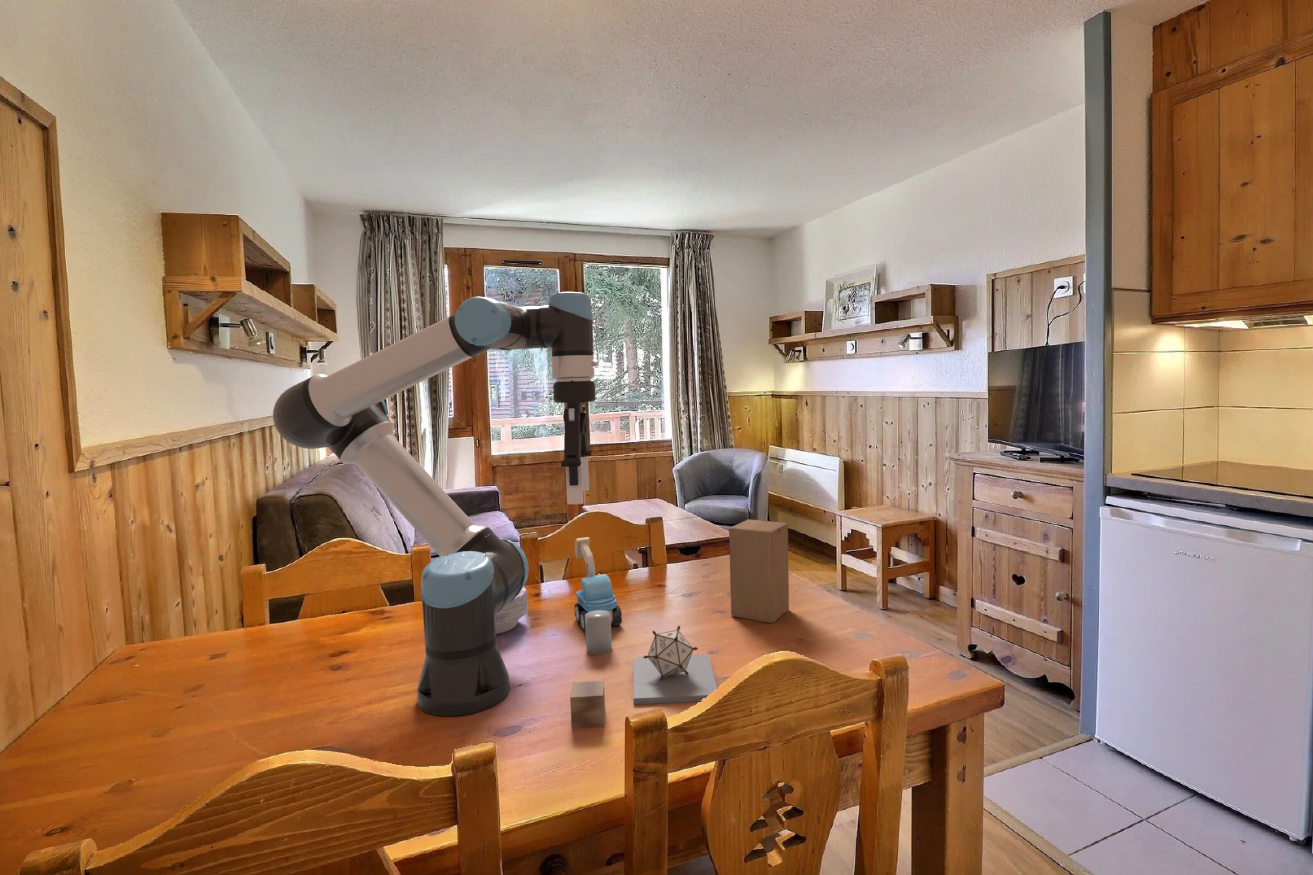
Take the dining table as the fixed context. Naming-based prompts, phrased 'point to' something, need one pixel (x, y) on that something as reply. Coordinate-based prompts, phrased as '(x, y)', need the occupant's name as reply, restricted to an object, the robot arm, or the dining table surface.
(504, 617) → the paper bowls
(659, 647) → the game die
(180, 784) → the dining table surface
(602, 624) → the grey cylinder
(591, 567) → the toy excavator
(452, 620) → the robot arm
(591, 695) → the walnut block
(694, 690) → the slate board
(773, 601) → the wooden block
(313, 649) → the dining table surface
